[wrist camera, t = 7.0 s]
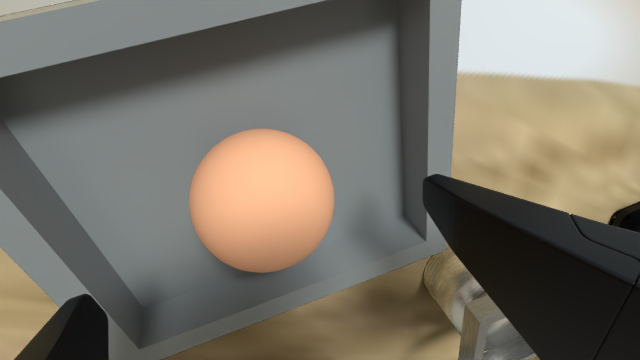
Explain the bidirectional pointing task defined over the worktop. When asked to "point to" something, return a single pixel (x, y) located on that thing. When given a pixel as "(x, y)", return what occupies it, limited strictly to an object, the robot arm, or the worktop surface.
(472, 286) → the hollow square frame
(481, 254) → the robot arm
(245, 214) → the ball
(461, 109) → the worktop surface
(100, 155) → the tray
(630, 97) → the worktop surface
